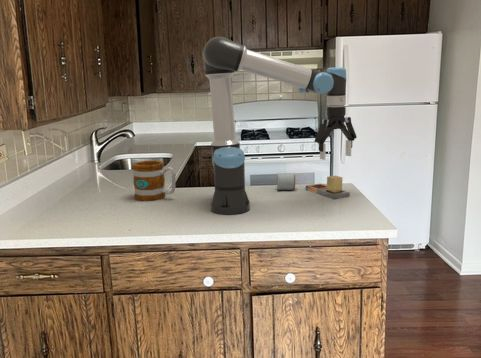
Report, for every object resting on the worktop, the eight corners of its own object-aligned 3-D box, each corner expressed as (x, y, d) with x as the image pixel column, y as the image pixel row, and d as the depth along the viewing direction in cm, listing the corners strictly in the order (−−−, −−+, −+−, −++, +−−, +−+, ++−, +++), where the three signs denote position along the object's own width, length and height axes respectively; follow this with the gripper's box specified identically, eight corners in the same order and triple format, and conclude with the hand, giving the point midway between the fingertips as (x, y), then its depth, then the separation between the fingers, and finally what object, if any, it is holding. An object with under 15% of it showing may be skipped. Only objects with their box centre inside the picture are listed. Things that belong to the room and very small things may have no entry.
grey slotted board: (334, 199, 192) (334, 194, 191) (305, 189, 209) (305, 185, 208) (349, 196, 195) (349, 191, 195) (320, 187, 212) (320, 183, 212)
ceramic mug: (295, 191, 206) (295, 174, 205) (277, 191, 206) (277, 174, 205) (293, 186, 216) (294, 170, 215) (276, 186, 217) (276, 170, 215)
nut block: (333, 197, 195) (333, 178, 193) (326, 195, 199) (327, 176, 197) (341, 195, 197) (342, 177, 195) (335, 193, 201) (335, 175, 199)
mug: (128, 200, 198) (125, 165, 195) (145, 192, 210) (143, 159, 207) (168, 203, 191) (166, 167, 187) (184, 195, 203) (182, 162, 200)
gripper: (317, 108, 181) (317, 162, 185) (366, 104, 192) (364, 155, 197) (305, 107, 187) (305, 159, 192) (353, 104, 199) (352, 153, 203)
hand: (335, 157), depth 194 cm, fingers open, 13 cm apart
